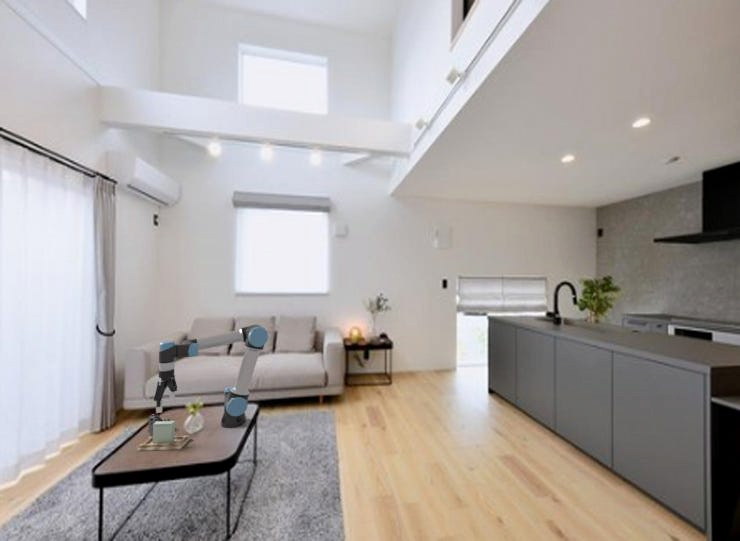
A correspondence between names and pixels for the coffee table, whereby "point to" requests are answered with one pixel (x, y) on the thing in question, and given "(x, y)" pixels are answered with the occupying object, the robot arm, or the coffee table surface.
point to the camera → (152, 420)
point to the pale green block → (163, 432)
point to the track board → (164, 444)
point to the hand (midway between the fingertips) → (165, 407)
